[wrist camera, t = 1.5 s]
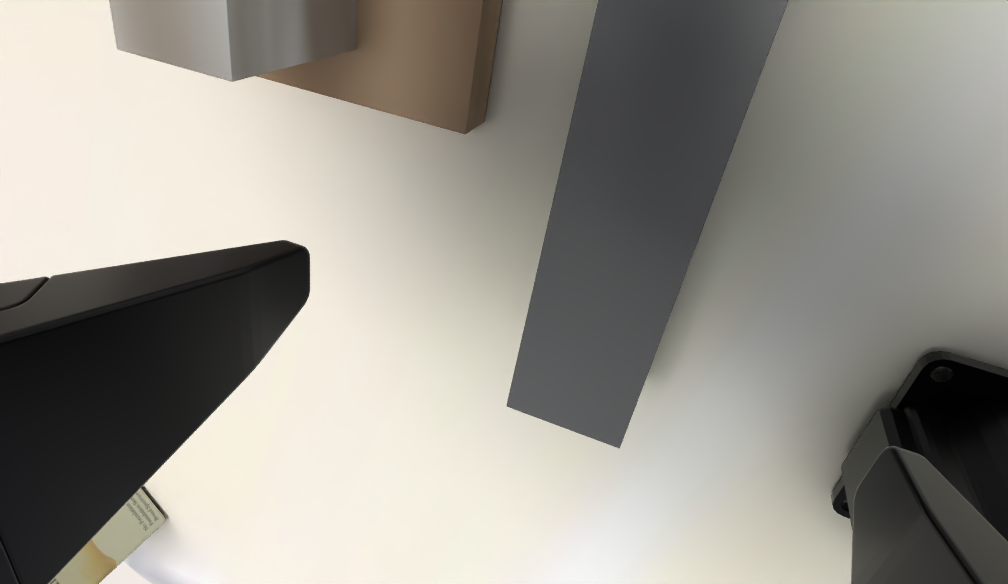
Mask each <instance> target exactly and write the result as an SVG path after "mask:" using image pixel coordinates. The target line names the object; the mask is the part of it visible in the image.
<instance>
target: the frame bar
mask: <svg viewBox="0 0 1008 584" xmlns="http://www.w3.org/2000/svg"><path fill="white" fill-rule="evenodd" d="M787 3H788V0H599V1H598V5H597V10H596V14H595V18H594V23H593V27H592V32H591V36H590V40H589V45H588V49H587V54H586V58H585V62H584V67H583V71H582V76H581V80H580V84H579V89H578V93H577V98H576V102H575V107H574V111H573V115H572V120H571V124H570V129H569V133H568V137H567V142H566V146H565V151H564V155H563V159H562V164H561V168H560V173H559V177H558V181H557V186H556V190H555V195H554V199H553V203H552V208H551V212H550V217H549V221H548V225H547V230H546V234H545V239H544V243H543V247H542V252H541V256H540V261H539V265H538V269H537V274H536V278H535V283H534V287H533V291H532V296H531V300H530V305H529V309H528V314H527V318H526V322H525V327H524V331H523V336H522V340H521V344H520V349H519V353H518V358H517V362H516V366H515V371H514V375H513V380H512V384H511V388H510V393H509V397H508V402H507V407H510V408H512V409H515V410H518V411H521V412H523V413H526V414H529V415H531V416H534V417H537V418H539V419H542V420H545V421H547V422H550V423H553V424H555V425H558V426H561V427H563V428H566V429H569V430H571V431H574V432H577V433H579V434H582V435H585V436H588V437H590V438H593V439H596V440H598V441H601V442H604V443H606V444H609V445H612V446H614V447H617V448H620V446H621V443H622V441H623V438H624V435H625V433H626V430H627V428H628V425H629V422H630V420H631V417H632V414H633V412H634V409H635V406H636V404H637V401H638V398H639V396H640V393H641V390H642V388H643V385H644V382H645V380H646V377H647V374H648V372H649V369H650V366H651V364H652V361H653V359H654V356H655V353H656V351H657V348H658V345H659V343H660V340H661V337H662V335H663V332H664V329H665V327H666V324H667V321H668V319H669V316H670V313H671V311H672V308H673V305H674V303H675V300H676V298H677V295H678V292H679V290H680V287H681V284H682V282H683V279H684V276H685V274H686V271H687V268H688V266H689V263H690V260H691V258H692V255H693V252H694V250H695V247H696V244H697V242H698V239H699V236H700V234H701V231H702V229H703V226H704V223H705V221H706V218H707V215H708V213H709V210H710V207H711V205H712V202H713V199H714V197H715V194H716V191H717V189H718V186H719V183H720V181H721V178H722V175H723V173H724V170H725V167H726V165H727V162H728V160H729V157H730V154H731V152H732V149H733V146H734V144H735V141H736V138H737V136H738V133H739V130H740V128H741V125H742V122H743V120H744V117H745V114H746V112H747V109H748V106H749V104H750V101H751V99H752V96H753V93H754V91H755V88H756V85H757V83H758V80H759V77H760V75H761V72H762V69H763V67H764V64H765V61H766V59H767V56H768V53H769V51H770V48H771V45H772V43H773V40H774V37H775V35H776V32H777V30H778V27H779V24H780V22H781V19H782V16H783V14H784V11H785V8H786V6H787Z"/></svg>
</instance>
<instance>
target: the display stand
mask: <svg viewBox="0 0 1008 584" xmlns="http://www.w3.org/2000/svg"><path fill="white" fill-rule="evenodd" d="M109 2H110V8H111V14H112V20H113V27H114V33H115V39H116V45H117V49H118V50H122V51H125V52H129V53H132V54H136V55H139V56H143V57H146V58H150V59H153V60H157V61H160V62H164V63H168V64H171V65H175V66H178V67H182V68H185V69H189V70H192V71H196V72H199V73H203V74H207V75H210V76H214V77H217V78H221V79H224V80H228V81H231V82H233V81H237V80H241V79H244V78H248V77H252V76H257V77H261V78H265V79H268V80H272V81H275V82H279V83H283V84H286V85H290V86H293V87H297V88H301V89H304V90H308V91H311V92H315V93H319V94H322V95H326V96H329V97H333V98H337V99H340V100H344V101H347V102H351V103H355V104H358V105H362V106H365V107H369V108H373V109H376V110H380V111H383V112H387V113H391V114H394V115H398V116H401V117H405V118H409V119H412V120H416V121H419V122H423V123H427V124H430V125H434V126H437V127H441V128H445V129H448V130H452V131H455V132H459V133H463V134H466V133H468V132H469V131H471V130H472V129H474V128H476V127H477V126H479V125H480V124H482V123H483V122H484V120H485V113H486V107H487V100H488V93H489V86H490V80H491V73H492V66H493V59H494V53H495V46H496V39H497V32H498V26H499V19H500V12H501V5H502V0H109Z"/></svg>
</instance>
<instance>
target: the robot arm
mask: <svg viewBox="0 0 1008 584" xmlns="http://www.w3.org/2000/svg"><path fill="white" fill-rule="evenodd" d="M309 293H310V254H309V251H308V250H307V248H306V247H304V246H301V245H299V244H296V243H293V242H290V241H286V240H280V241H274V242H267V243H261V244H254V245H248V246H241V247H235V248H228V249H222V250H216V251H209V252H203V253H196V254H190V255H183V256H177V257H170V258H164V259H157V260H151V261H144V262H138V263H132V264H125V265H119V266H112V267H106V268H99V269H93V270H86V271H80V272H73V273H67V274H60V275H54V276H52V277H51V278H50V279H49V278H48V277H40V278H34V279H27V280H21V281H14V282H7V283H0V584H49V583H50V582H51V581H52V580H53V579H54V578H55V577H56V575H57V574H58V573H59V572H60V571H61V570H62V569H63V568H64V567H65V566H66V565H67V564H68V563H69V562H70V561H71V560H72V559H73V558H74V557H75V556H76V555H77V554H78V553H79V552H80V551H81V549H82V548H83V547H84V546H85V545H86V544H87V543H88V542H89V541H90V540H91V539H92V538H93V537H94V536H95V535H96V534H97V533H98V532H99V531H100V530H101V529H102V528H103V527H104V526H105V525H106V523H107V522H108V521H109V520H110V519H111V518H112V517H113V516H114V515H115V514H116V513H117V512H118V511H119V510H120V509H121V508H122V507H123V506H124V505H125V504H126V503H127V502H128V501H129V500H130V498H131V497H132V496H133V495H134V494H135V493H136V492H137V491H138V490H139V489H140V488H141V487H142V486H143V485H144V484H145V483H146V482H147V481H148V480H149V479H150V478H151V477H152V476H153V475H154V474H155V472H156V471H157V470H158V469H159V468H160V467H161V466H162V465H163V464H164V463H165V462H166V461H167V460H168V459H169V458H170V457H171V456H172V455H173V454H174V453H175V452H176V451H177V450H178V449H179V448H180V446H181V445H182V444H183V443H184V442H185V441H186V440H187V439H188V438H189V437H190V436H191V435H192V434H193V433H194V432H195V431H196V430H197V429H198V428H199V427H200V426H201V425H202V424H203V423H204V421H205V420H206V419H207V418H208V417H209V416H210V415H211V414H212V413H213V412H214V411H215V410H216V409H217V408H218V407H219V406H220V405H221V404H222V403H223V402H224V401H225V400H226V399H227V398H228V397H229V395H230V394H231V393H232V392H233V391H234V390H235V389H236V388H237V387H238V386H239V385H240V384H241V383H242V382H243V381H244V380H245V379H246V378H247V377H248V375H249V374H250V373H251V372H252V371H253V370H254V369H255V368H256V366H257V365H258V364H259V363H260V362H261V360H262V359H263V358H264V357H265V355H266V354H267V353H268V351H269V350H270V349H271V348H272V346H273V345H274V344H275V342H276V341H277V340H278V338H279V337H280V336H281V335H282V333H283V332H284V331H285V329H286V328H287V327H288V326H289V324H290V323H291V322H292V320H293V319H294V318H295V316H296V315H297V314H298V313H299V311H300V310H301V309H302V307H303V306H304V305H305V303H306V301H307V299H308V297H309ZM938 367H948V368H949V369H948V370H947V371H946V372H945V373H941V374H933V373H932V371H933V370H934V369H935V368H938ZM841 469H842V474H843V476H842V478H841V479H840V481H839V482H838V484H837V485H836V487H835V488H834V490H833V491H832V494H831V498H832V505H833V508H834V510H835V511H836V512H837V513H838V514H840V515H842V516H844V517H847V518H850V519H851V525H852V530H853V540H852V573H851V584H1008V370H1005V369H1001V368H998V367H995V366H992V365H988V364H985V363H982V362H978V361H975V360H972V359H968V358H965V357H962V356H958V355H955V354H952V353H949V352H942V351H937V352H931V353H929V354H927V355H924V356H923V357H922V358H921V359H920V360H919V362H918V363H917V365H916V366H915V368H914V369H913V371H912V372H911V374H910V375H909V377H908V378H907V380H906V381H905V383H904V384H903V386H902V387H901V389H900V390H899V392H898V393H897V395H896V396H895V398H894V399H893V401H892V402H891V404H890V405H889V406H885V407H883V408H881V409H879V410H878V411H877V412H876V413H875V415H874V416H873V418H872V419H871V421H870V422H869V424H868V426H867V427H866V429H865V430H864V432H863V433H862V435H861V436H860V438H859V439H858V441H857V442H856V444H855V445H854V447H853V448H852V450H851V452H850V453H849V455H848V456H847V458H846V459H845V461H844V462H843V464H842V467H841ZM846 500H847V502H848V503H847V502H844V501H846Z"/></svg>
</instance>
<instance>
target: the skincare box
mask: <svg viewBox="0 0 1008 584" xmlns="http://www.w3.org/2000/svg"><path fill="white" fill-rule="evenodd" d="M164 522H165V518H164V516H163V515H162V513H161V512H160V511H159V510H158V509H157V508H156V506H155V505H154V504H153V503H152V501H151V500H150V499H149V498H148V496H147V495H146V494H145V493H144V491H143V490H142V489H141V488H140V489H139V490H138V491H137V492H136V493H135V494H134V495H133V496H132V497H131V498H130V500H129V501H128V502H127V503H126V504H125V505H124V506H123V507H122V508H121V509H120V510H119V511H118V512H117V513H116V514H115V515H114V516H113V517H112V518H111V519H110V520H109V521H108V522H107V523H106V525H105V526H104V527H103V528H102V529H101V530H100V531H99V532H98V533H97V534H96V535H95V536H94V537H93V538H92V539H91V540H90V541H89V542H88V543H87V544H86V545H85V546H84V547H83V548H82V549H81V551H80V552H79V553H78V554H77V555H76V556H75V557H74V558H73V559H72V560H71V561H70V562H69V563H68V564H67V565H66V566H65V567H64V568H63V569H62V570H61V571H60V572H59V573H58V574H57V575H56V577H55V578H54V579H53V580H52V581H51V582H50V583H49V584H99V583H100V582H101V581H102V580H103V579H104V578H105V577H106V576H107V575H108V574H109V573H111V572H112V571H113V570H114V569H115V568H116V567H117V566H118V565H119V564H120V563H121V562H122V561H124V560H125V559H126V558H127V557H128V556H129V555H130V554H131V553H132V552H133V551H134V550H135V549H136V548H137V547H139V546H140V545H141V544H142V543H143V542H144V541H145V540H146V539H147V538H148V537H149V536H150V535H151V534H152V533H153V532H154V531H155V530H157V529H158V528H159V527H160V526H161V525H162V524H163V523H164Z"/></svg>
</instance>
